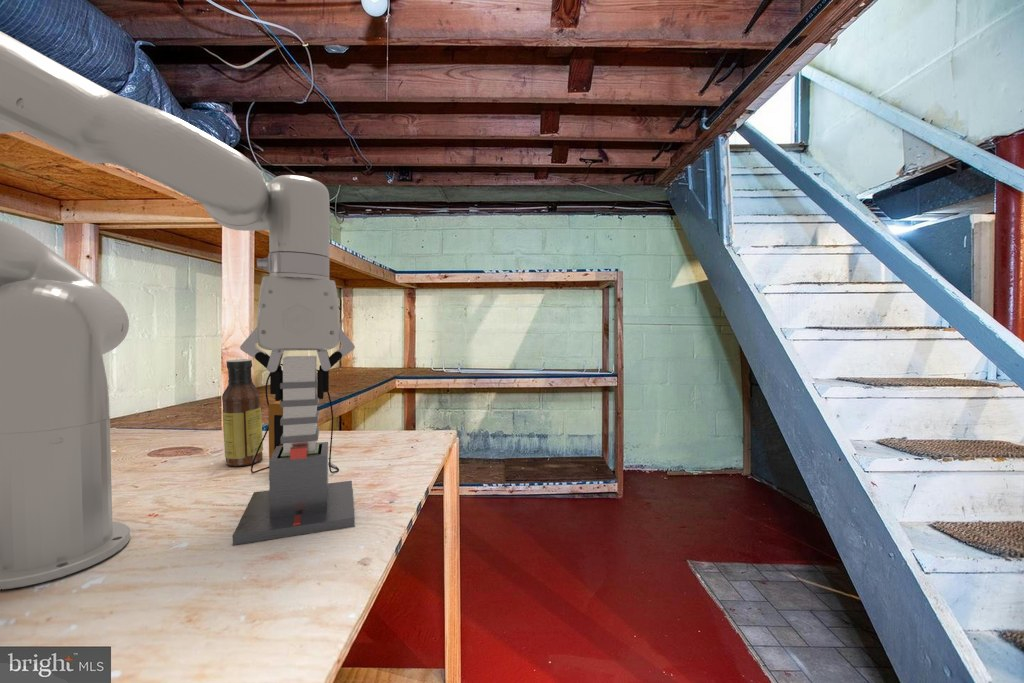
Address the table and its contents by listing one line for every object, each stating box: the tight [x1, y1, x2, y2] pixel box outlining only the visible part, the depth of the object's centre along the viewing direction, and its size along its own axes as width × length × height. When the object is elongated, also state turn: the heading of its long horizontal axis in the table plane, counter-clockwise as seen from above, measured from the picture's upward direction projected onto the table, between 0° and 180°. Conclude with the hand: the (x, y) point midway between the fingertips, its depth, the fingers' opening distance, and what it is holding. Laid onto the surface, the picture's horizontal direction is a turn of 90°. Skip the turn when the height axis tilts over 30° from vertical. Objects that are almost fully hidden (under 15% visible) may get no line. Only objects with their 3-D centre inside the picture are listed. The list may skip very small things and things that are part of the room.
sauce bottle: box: [221, 358, 264, 467], centre depth 80 cm, size 7×6×20 cm
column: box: [280, 355, 320, 458], centre depth 60 cm, size 5×5×16 cm
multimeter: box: [250, 363, 340, 474], centre depth 78 cm, size 15×10×20 cm
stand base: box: [232, 441, 356, 546], centre depth 60 cm, size 14×14×10 cm
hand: (300, 397), depth 60 cm, fingers closed on column, 4 cm apart
